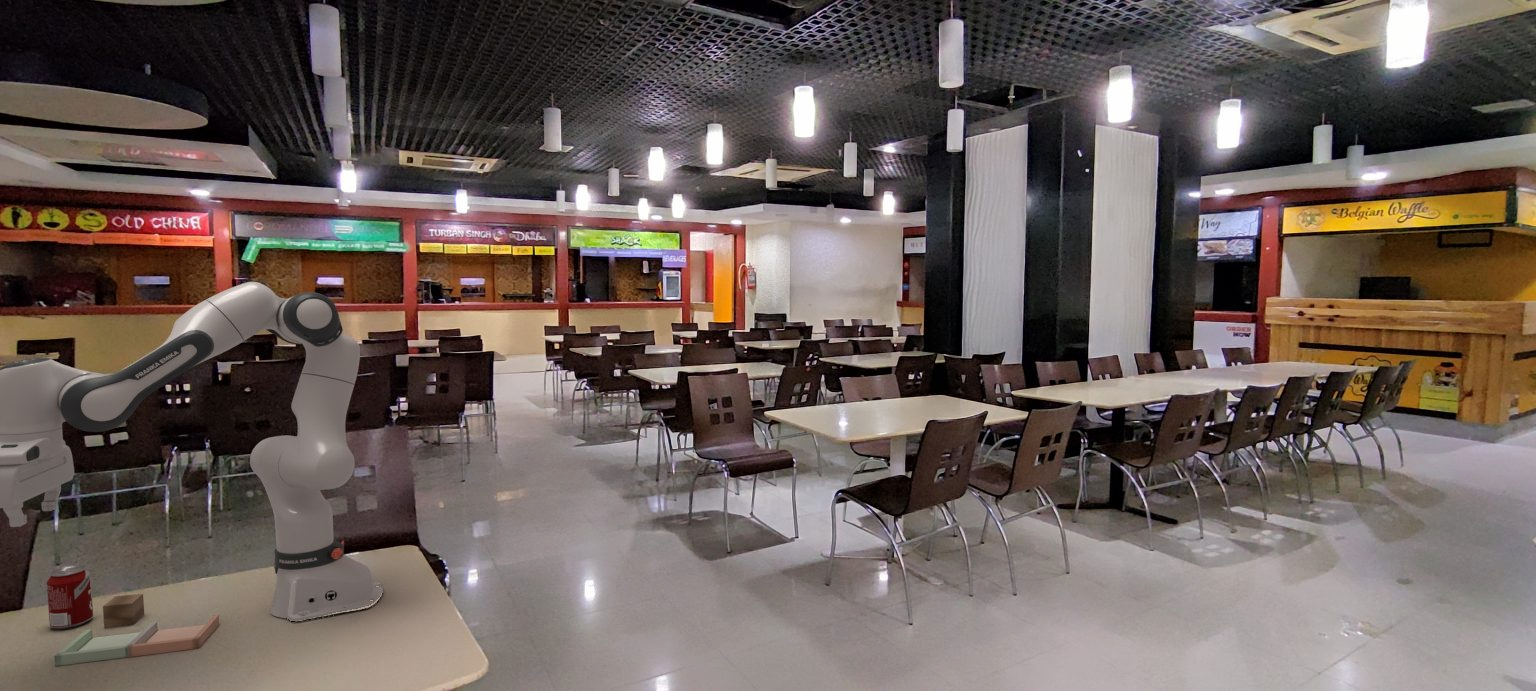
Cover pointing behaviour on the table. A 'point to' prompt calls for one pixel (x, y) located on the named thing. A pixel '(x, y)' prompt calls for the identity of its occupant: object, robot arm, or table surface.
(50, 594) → the soda can
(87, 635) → the green and pink trays
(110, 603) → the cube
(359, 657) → the table surface
